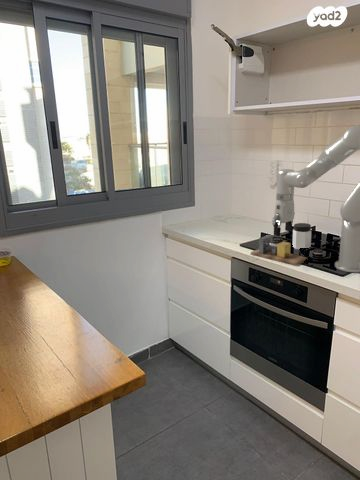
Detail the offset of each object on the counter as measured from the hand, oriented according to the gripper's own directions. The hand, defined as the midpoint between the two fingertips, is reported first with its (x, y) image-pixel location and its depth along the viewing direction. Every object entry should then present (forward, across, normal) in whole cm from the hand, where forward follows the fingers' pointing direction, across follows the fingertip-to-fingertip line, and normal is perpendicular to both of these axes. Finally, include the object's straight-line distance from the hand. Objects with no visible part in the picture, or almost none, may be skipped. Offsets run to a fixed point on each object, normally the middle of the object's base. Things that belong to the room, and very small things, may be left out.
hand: (282, 233), depth 166 cm
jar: (+13, +20, +1) cm, 24 cm away
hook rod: (+11, 0, +5) cm, 12 cm away
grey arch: (+13, 0, +9) cm, 16 cm away
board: (+13, 0, +2) cm, 13 cm away
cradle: (+13, 0, +3) cm, 13 cm away
